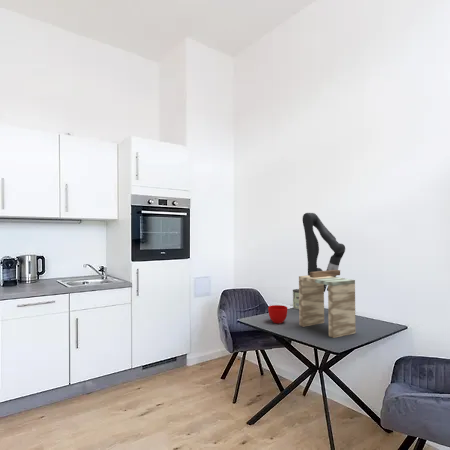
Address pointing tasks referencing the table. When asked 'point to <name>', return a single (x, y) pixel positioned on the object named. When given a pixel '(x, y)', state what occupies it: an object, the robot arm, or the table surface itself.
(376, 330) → the table surface
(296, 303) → the coffee can
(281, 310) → the ceramic cup
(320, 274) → the batten
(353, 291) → the bench
